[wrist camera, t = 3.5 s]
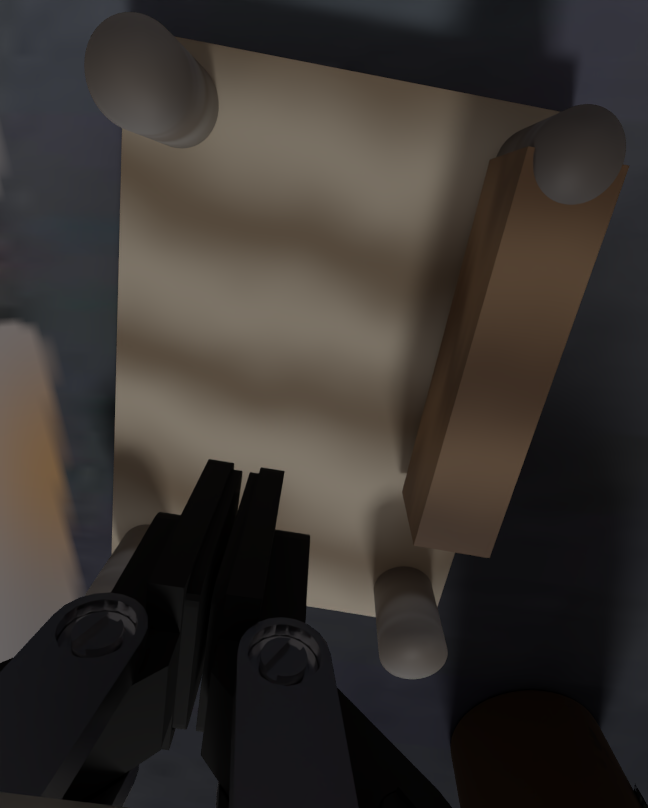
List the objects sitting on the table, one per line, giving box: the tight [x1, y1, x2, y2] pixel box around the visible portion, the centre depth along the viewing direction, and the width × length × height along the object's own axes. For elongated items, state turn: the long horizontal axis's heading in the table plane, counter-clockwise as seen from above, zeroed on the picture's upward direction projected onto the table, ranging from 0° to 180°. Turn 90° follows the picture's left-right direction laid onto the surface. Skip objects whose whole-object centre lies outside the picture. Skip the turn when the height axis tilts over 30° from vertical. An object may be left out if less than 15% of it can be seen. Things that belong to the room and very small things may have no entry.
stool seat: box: [84, 12, 560, 679], centre depth 21 cm, size 24×17×6 cm
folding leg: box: [402, 104, 629, 558], centre depth 19 cm, size 15×3×4 cm, turn 170°
